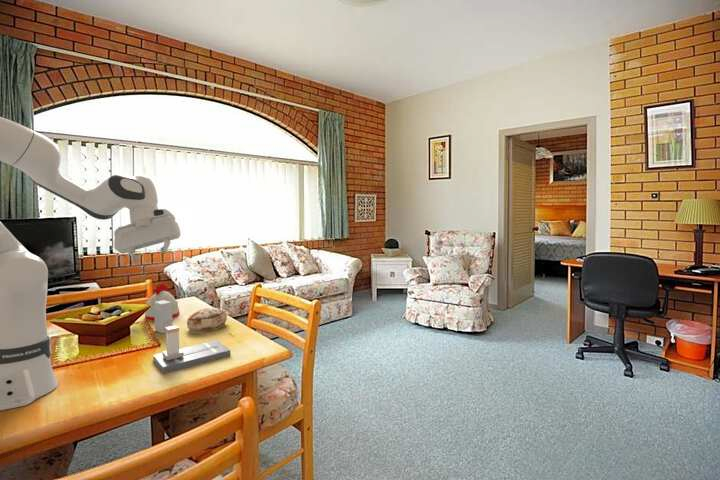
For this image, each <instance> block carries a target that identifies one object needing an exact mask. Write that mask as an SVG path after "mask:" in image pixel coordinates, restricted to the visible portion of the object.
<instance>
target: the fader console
mask: <svg viewBox="0 0 720 480" xmlns="http://www.w3.org/2000/svg"><path fill="white" fill-rule="evenodd" d="M180 349H181V350H182V351H183V352H184V356H183V357H179V358H175V359H171V360H166V359H165V358H164V357H163V353H162V352H160V353H156V354H153V355H152V361H153V362H154V364H155V365H156V366H157V368H158V369H159V370H160V371H161V373H162V374H168V373H171V372H174V371H178V370H181V369H186V368H189V367H193V366H197V365H200V364H204V363H207V362H209V363H210V362H212V361H215V360H221V359H223V358H227V357H230V356H231V349H230V348H229V347H227V346H226V345H224V344H223V343H221V342H220V341H219V340H217V339H215V340H212V341H207V342H203V343H199V344H194V345H190V346H186V347H181V348H180Z"/></svg>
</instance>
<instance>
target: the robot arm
mask: <svg viewBox="0 0 720 480" xmlns="http://www.w3.org/2000/svg"><path fill="white" fill-rule="evenodd" d="M61 158H62V157H61V152H60V150H59V148H58V146H57V144H56V143H55V142H54V141H52V140H51V139H50V138H49V137H46V136H45V135H44V134H41V133H39V132H37V131H35V130H33V129H31V128H29V127H27V126H25V125H22V124H20V123H18V122H16V121H13V120H10V119H8V118H5V117H2V116H0V162H3V163H4V164H7V165H8V166H11V167H14V168H16V169H17V170H19V171H21V172H23V173H24V174H26V175H27V176H28V177H29V180H30V181H31V182H33V183H34V184H36V185H37V186H38V187H40V188H42V189H44V190H46V191H48V192H49V193H51V194H53V195H55V196H57V197H59V198H61V199H62V200H64V201H66V202H68V203H70V204H72V205H73V206H76V207H77V208H79V209H80V210H82V211H84V213H86V214H87V215H88V216H91V217H92V218H94V219H98V220H101V221H102V220H104V221H105V220H110V219H112V218H113V217H114V216H115V215H116V214H117V213H118V212H119V211H121V210H123V209H124V208H125V209H128V210H129V219H130V223H128V224H125V225H121V226H119V227H117V228H116V229H115V230H114V231H113V233H114V234H113V235H114V240H113V241H114V242H113V243H114V244H113V248H114V250H115V251H116V252H119V253H120V254H126V253H127V254H128V255H129V256H130V260H131V262H133V263H136V262H139V261H140V260H139V256H138V255H137V254H134V253H136V252H135V251H137V250H140V249H145V248H147V247H151V246H156V245H159V244H162V243H163V245H162V247H160V252H161V254H162V255H164V254H168V253H169V250H168V249H169V247H170V244H171V241H173V240H177V239H180V236H181V230H180V226H179V224H178V222H177V221H176V217H175V215H174V214H173V213H172V212H171V211H169V210H168V209H166V208H158V201H159V200H158V193H157V191H156V190H157V189H156V186H155V184H154V182H153V181H152V180H151V179H150V178H149V177H147V176H145V175H133V176H125V175H122V174H114V175H111V176H110V177H108V178H107V179H105V180H104V181H103V182H101V184H99V185H97V186H96V187H95V188H93V189H86V188H84V187H82V186H80V185H79V184H77V183H75V182H74V181H72V180H70V179H68V177H67V178H66V177H65V176H63V174H61V172H60V170H59V168H60V165H61V161H62V160H61ZM48 278H49V269H48V266H47V264H46V261H44V260H43V259H42V258H41V257H39V255H38V256H37V255H36V254H34V253H32V252H30V251H29V250H28V249H27V248H26V247H25V246H24V245H23V244H22V243H21V242H20V241H19V240H18V239H17V238H16V237H15V236H14V235H13V233H12V232H11V231H10V230H9V229H8V228H7V227H6V226H5V225H4V224H3V222H1V221H0V411H6V410H11V409H15V408H19V407H25V406H27V405H29V404H31V403H33V402H34V401H36V400H37V399H39V398H41V397H42V396H44V395H45V396H46V395H47V394H49V393H51V392H52V391H54V390H55V389H56V388H57V387H58V385H59V381H58V380H57V378H56V375H55V372H54V370H53V366H52V363H51V362H52V361H51V356H52V355H51V354H52V346H51V345H52V344H51V340H50V336H49V335H48V328H47V327H48V326H47V313H46V312H47V310H46V309H47V300H48V299H47V298H48V285H49V284H48V280H49V279H48Z"/></svg>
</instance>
